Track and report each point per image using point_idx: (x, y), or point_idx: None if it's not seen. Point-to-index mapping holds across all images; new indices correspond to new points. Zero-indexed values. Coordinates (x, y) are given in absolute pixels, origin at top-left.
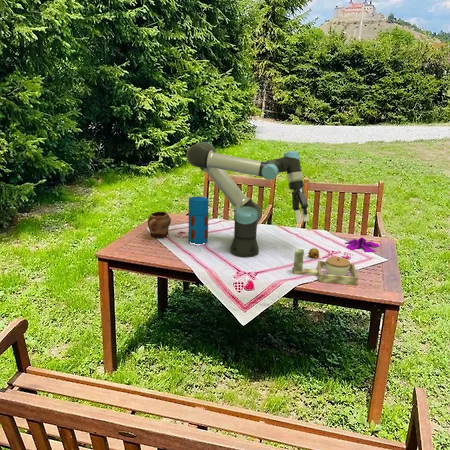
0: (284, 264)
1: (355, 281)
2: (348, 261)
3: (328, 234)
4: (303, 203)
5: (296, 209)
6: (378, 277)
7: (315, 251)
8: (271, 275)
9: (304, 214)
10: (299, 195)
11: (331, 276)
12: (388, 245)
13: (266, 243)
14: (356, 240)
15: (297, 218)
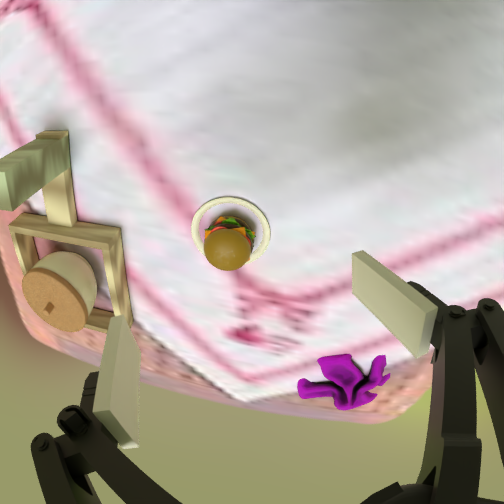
0: (120, 95)
1: None
2: (62, 329)
3: None
4: (40, 470)
5: (439, 335)
6: None
7: (206, 255)
8: (21, 60)
9: (96, 372)
10: None
11: (19, 255)
12: (343, 419)
13: (423, 39)
14: (366, 386)
15: (371, 282)
